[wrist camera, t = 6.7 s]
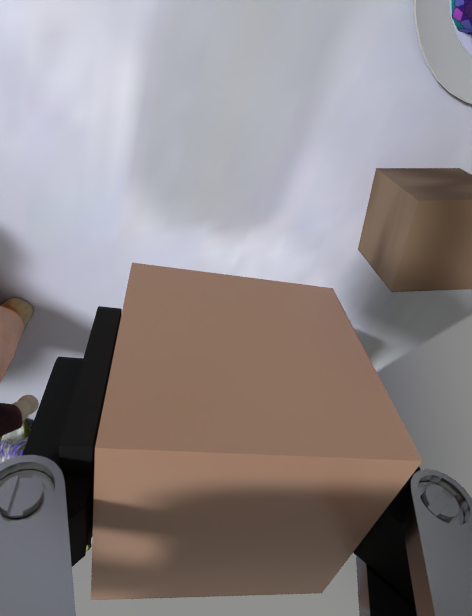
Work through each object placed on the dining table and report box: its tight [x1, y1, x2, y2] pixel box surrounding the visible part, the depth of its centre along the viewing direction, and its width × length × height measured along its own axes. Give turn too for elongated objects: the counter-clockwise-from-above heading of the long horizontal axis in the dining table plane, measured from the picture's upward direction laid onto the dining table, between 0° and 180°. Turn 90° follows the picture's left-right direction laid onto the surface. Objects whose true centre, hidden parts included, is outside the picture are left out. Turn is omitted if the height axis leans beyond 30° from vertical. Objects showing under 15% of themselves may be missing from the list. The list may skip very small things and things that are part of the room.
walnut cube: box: [358, 168, 472, 292], centre depth 23 cm, size 5×5×5 cm
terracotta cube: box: [91, 263, 422, 600], centre depth 10 cm, size 5×5×5 cm
